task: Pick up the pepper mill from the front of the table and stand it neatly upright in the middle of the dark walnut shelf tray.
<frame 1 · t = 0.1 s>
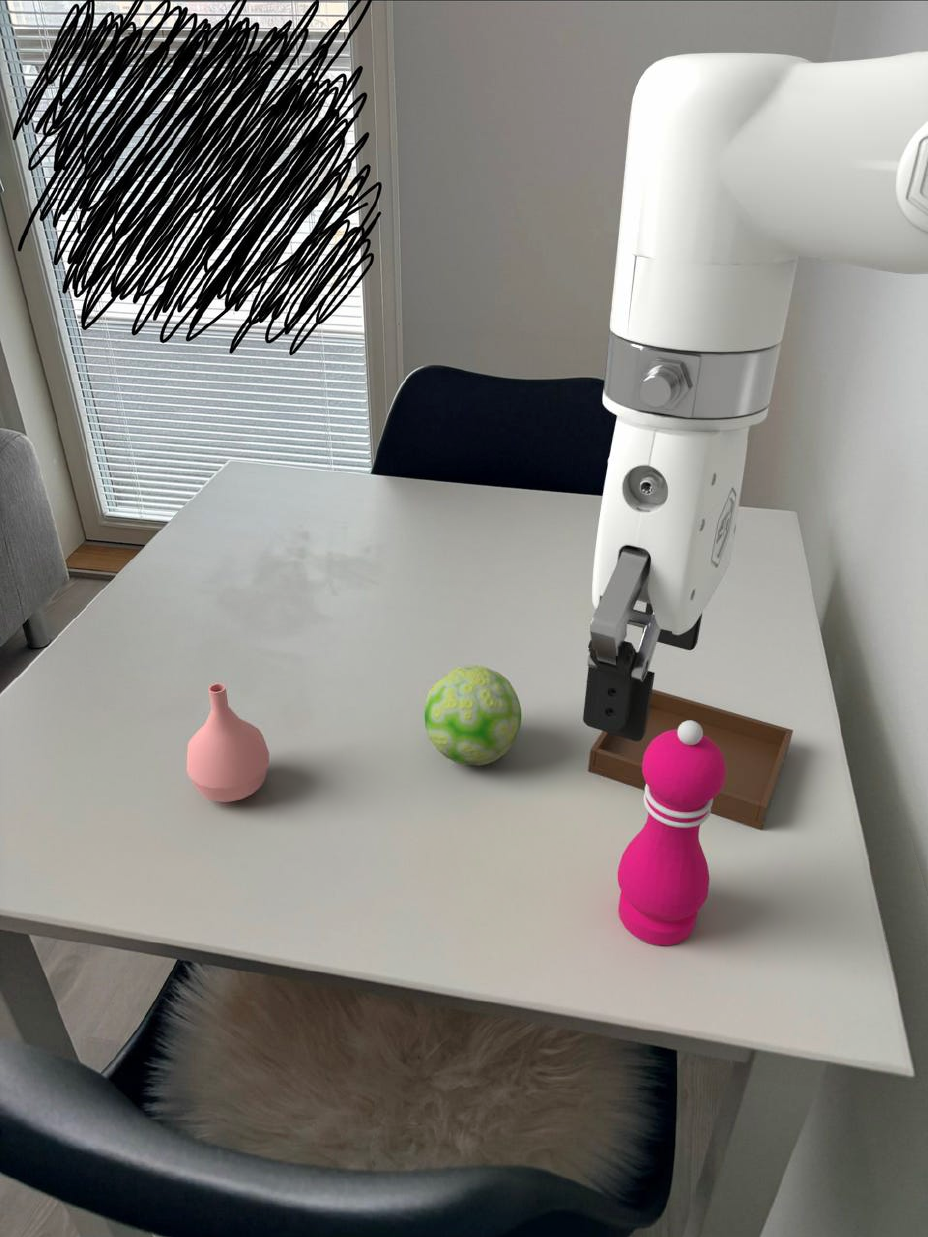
hand: (643, 683, 49), 30 cm above the table, tool pointing down, fingers open, 9 cm apart
decorative ball: (472, 756, 90), on the table
pepper mill: (655, 917, 73), on the table
pink bulb vase: (232, 790, 85), on the table
shelf tray: (689, 761, 90), on the table
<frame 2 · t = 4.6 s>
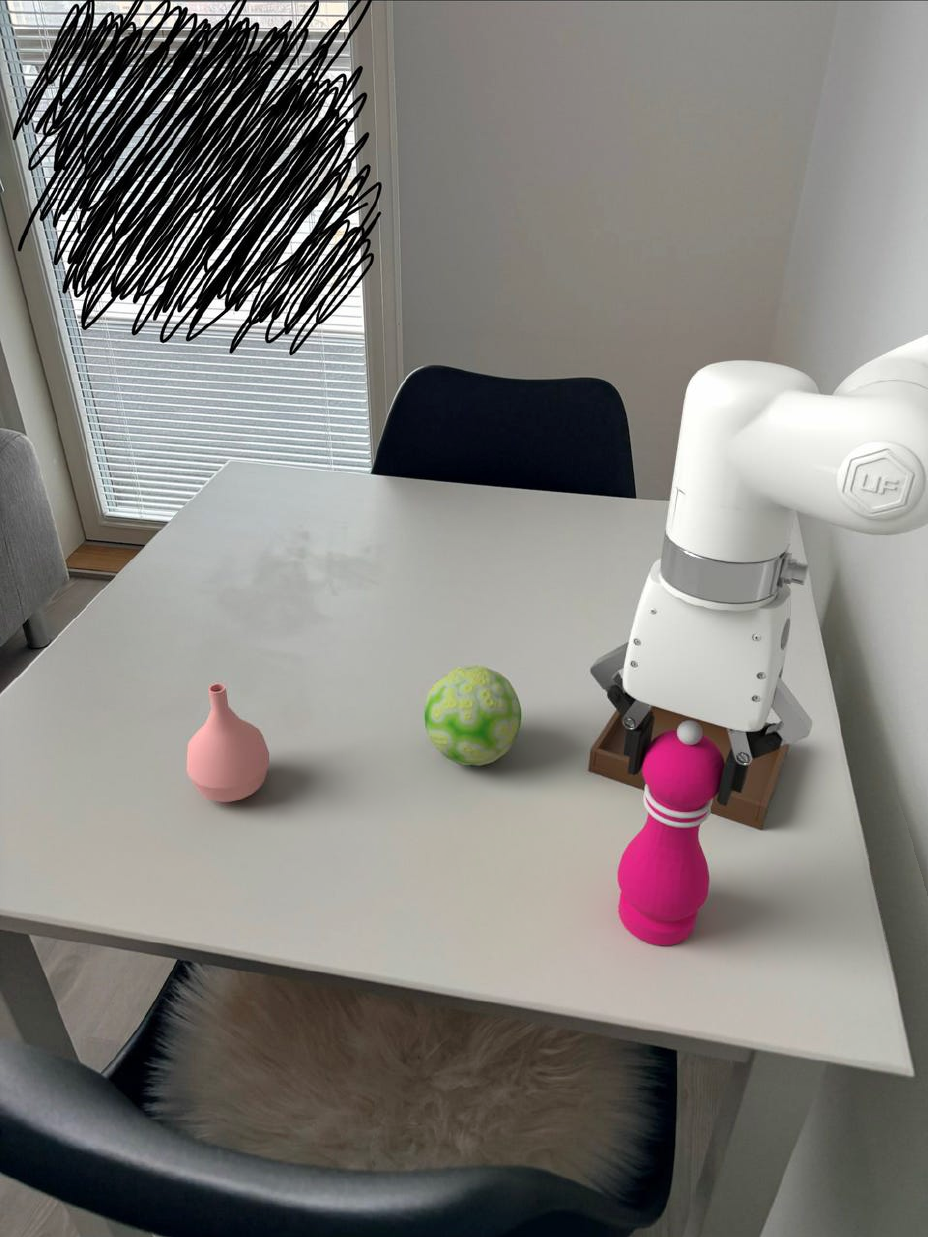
hand: (681, 777, 65), 15 cm above the table, tool pointing down, fingers closed on pepper mill, 6 cm apart
pepper mill: (655, 917, 73), on the table, touching gripper
everything else where it was.
when the fingers open (16 cm above the table, at t = 12.4 s): pepper mill stays where it is, resting on shelf tray.
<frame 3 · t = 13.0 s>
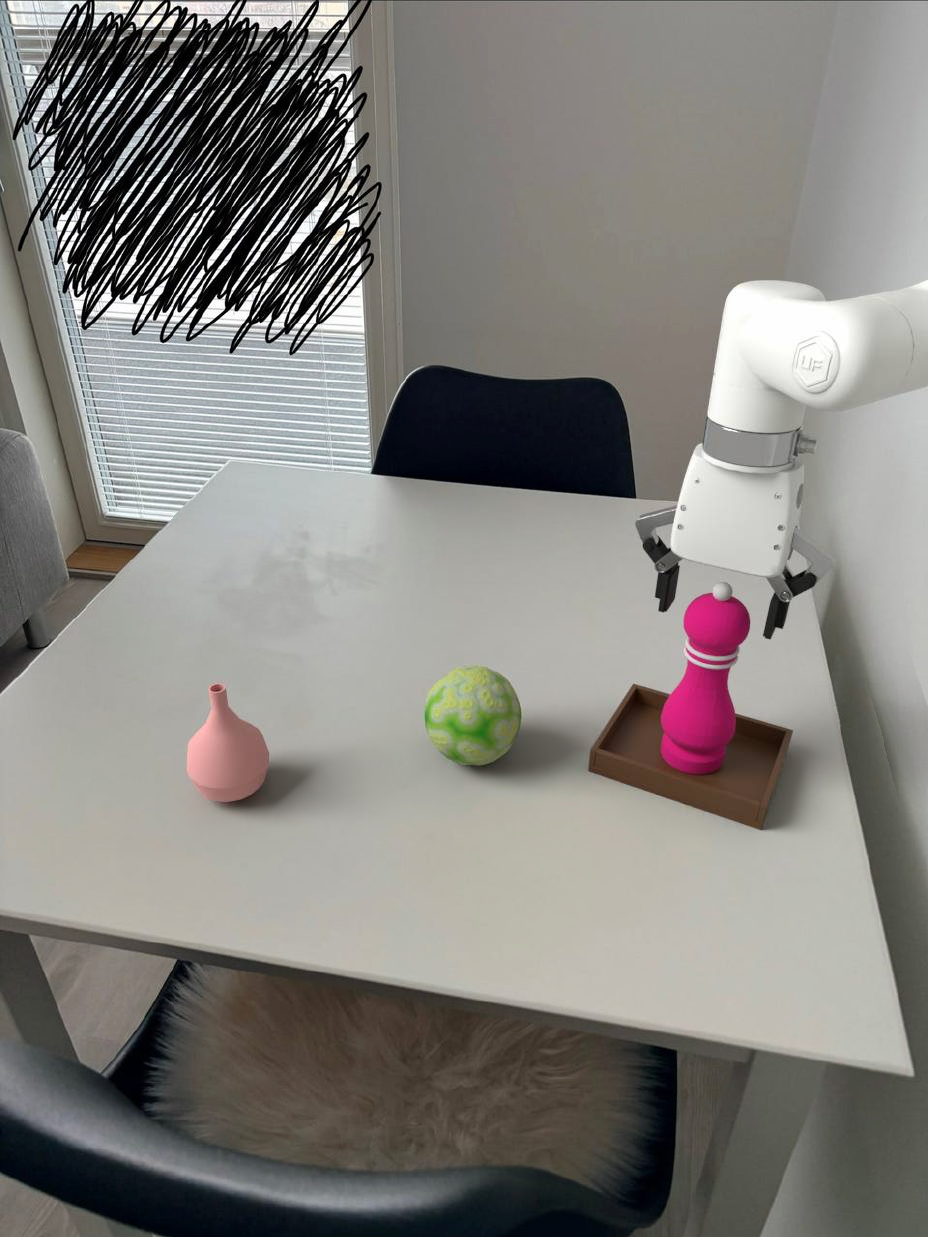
hand: (716, 618, 81), 17 cm above the table, tool pointing down, fingers open, 9 cm apart
pepper mill: (691, 757, 90), point 1 cm above the table, touching shelf tray
everything else where it was.
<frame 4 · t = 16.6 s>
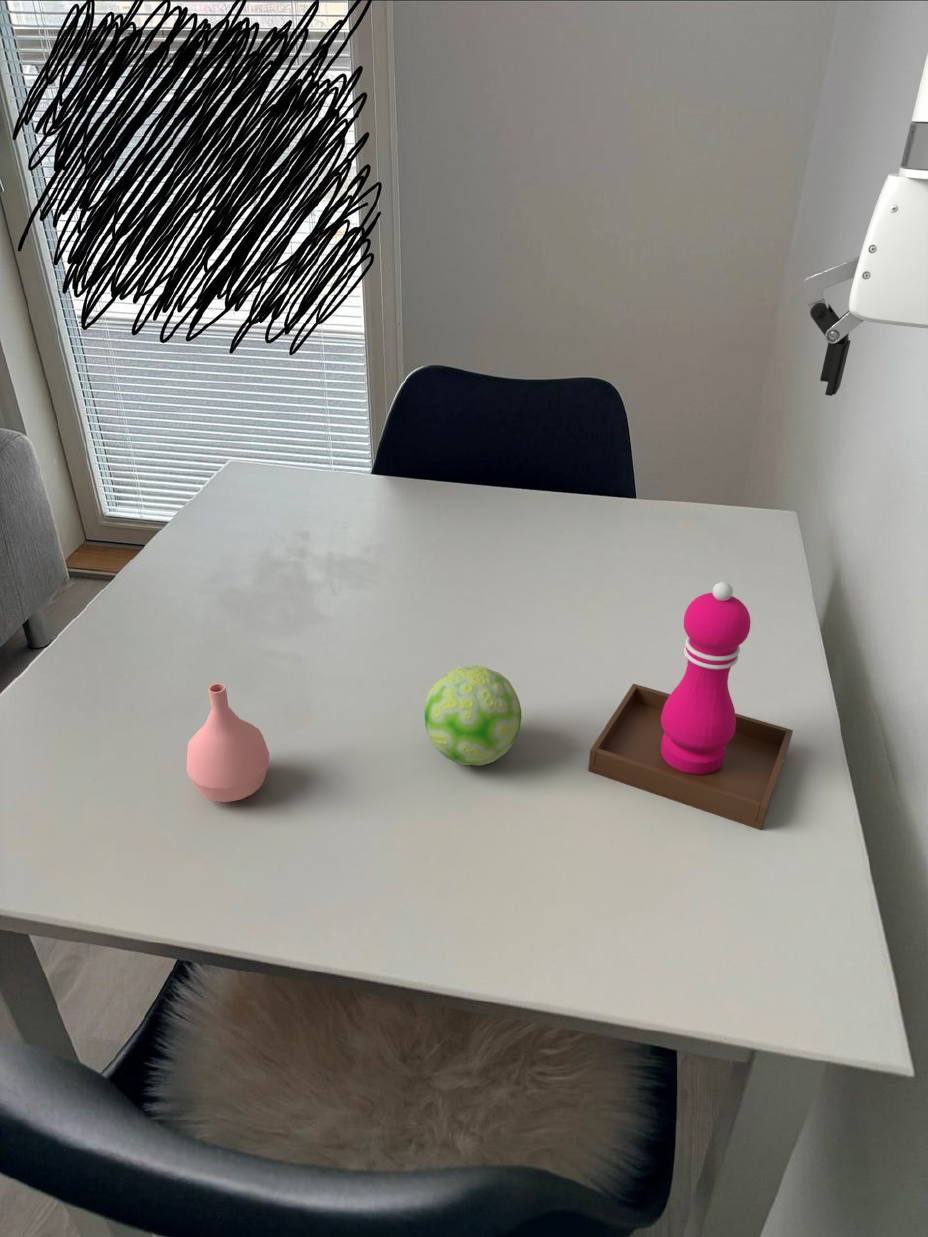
hand: (896, 400, 69), 38 cm above the table, tool pointing down, fingers open, 9 cm apart
nothing on the table moved.
at the end: pepper mill inside the target area in the shelf tray (0.1 cm from its centre), point 0.6 cm above the shelf tray's base; pepper mill tilted 0°; the gripper is holding nothing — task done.
